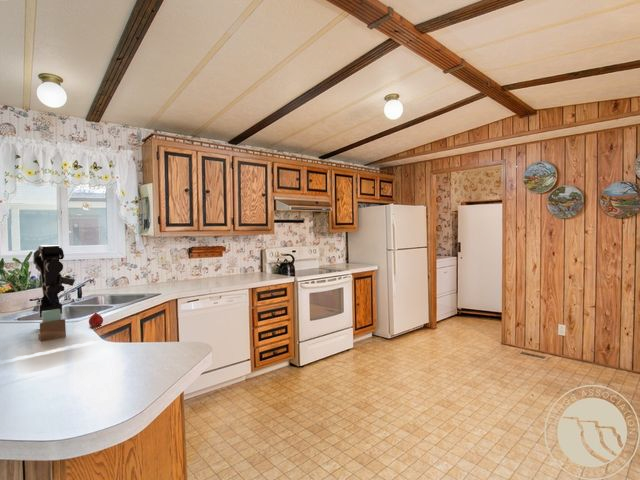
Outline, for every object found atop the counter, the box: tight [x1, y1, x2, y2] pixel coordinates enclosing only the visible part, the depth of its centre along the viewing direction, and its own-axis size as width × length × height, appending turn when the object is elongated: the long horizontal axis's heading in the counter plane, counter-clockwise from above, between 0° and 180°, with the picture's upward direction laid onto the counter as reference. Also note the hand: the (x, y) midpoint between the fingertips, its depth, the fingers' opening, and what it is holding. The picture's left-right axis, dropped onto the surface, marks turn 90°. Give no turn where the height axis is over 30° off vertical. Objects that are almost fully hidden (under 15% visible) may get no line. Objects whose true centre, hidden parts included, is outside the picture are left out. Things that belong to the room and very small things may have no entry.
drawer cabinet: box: [37, 318, 67, 343], centre depth 152 cm, size 14×9×9 cm, turn 46°
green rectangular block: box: [41, 309, 62, 323], centre depth 149 cm, size 3×6×12 cm, turn 136°
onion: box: [88, 311, 104, 328], centre depth 167 cm, size 6×6×8 cm
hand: (53, 305), depth 161 cm, fingers closed
